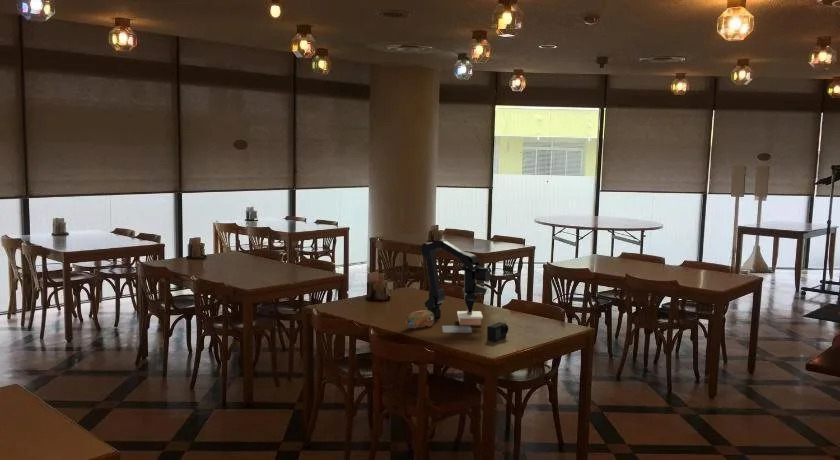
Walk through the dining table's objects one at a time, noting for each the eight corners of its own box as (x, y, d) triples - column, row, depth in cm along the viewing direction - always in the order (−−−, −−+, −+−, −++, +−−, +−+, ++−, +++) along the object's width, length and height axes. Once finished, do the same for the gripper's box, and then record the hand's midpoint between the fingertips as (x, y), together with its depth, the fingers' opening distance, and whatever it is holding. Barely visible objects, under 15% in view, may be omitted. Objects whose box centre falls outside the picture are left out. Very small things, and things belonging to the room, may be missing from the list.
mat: (442, 333, 342) (442, 332, 342) (442, 326, 355) (442, 325, 355) (472, 333, 342) (472, 332, 342) (470, 326, 355) (470, 325, 355)
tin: (407, 330, 348) (407, 313, 347) (404, 328, 351) (404, 311, 350) (434, 326, 355) (434, 309, 354) (431, 325, 357) (431, 308, 357)
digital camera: (497, 342, 325) (497, 327, 324) (487, 341, 328) (487, 326, 328) (508, 338, 333) (508, 323, 333) (498, 336, 337) (498, 321, 336)
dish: (459, 326, 355) (459, 318, 355) (458, 321, 366) (458, 313, 365) (480, 326, 355) (480, 318, 355) (479, 321, 366) (479, 313, 365)
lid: (458, 318, 354) (458, 308, 354) (457, 313, 366) (457, 303, 366) (482, 318, 354) (482, 308, 354) (480, 313, 366) (480, 303, 366)
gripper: (487, 283, 349) (487, 314, 350) (484, 276, 367) (484, 306, 369) (465, 283, 349) (464, 314, 351) (462, 276, 367) (462, 306, 369)
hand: (469, 310), depth 360 cm, fingers open, 9 cm apart
